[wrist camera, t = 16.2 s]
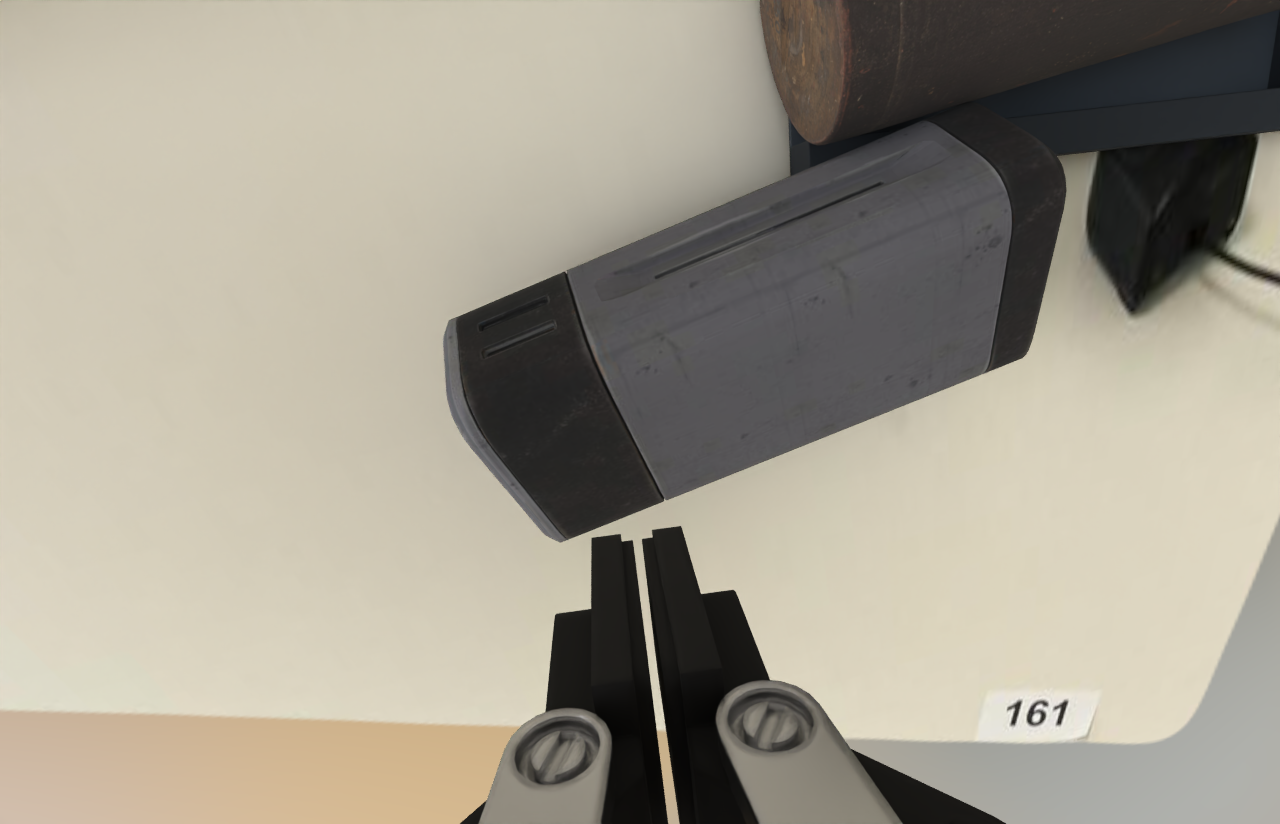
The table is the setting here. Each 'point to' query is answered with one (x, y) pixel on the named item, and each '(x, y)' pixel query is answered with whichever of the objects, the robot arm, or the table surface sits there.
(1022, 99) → the tray
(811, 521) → the table surface
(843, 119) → the container
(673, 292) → the electronic device
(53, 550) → the table surface
